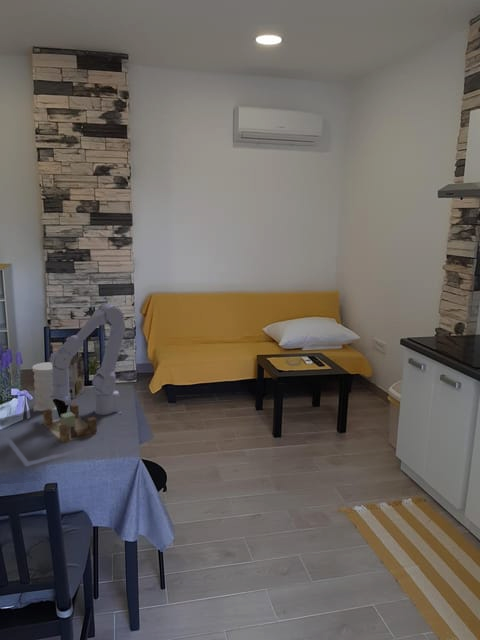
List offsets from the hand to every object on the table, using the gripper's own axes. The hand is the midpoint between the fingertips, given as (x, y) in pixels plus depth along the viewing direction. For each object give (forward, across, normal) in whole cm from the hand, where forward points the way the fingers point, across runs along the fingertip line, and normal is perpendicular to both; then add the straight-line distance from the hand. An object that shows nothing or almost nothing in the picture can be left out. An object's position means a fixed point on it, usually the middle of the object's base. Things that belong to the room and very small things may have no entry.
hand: (62, 417), depth 189 cm
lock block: (+1, +6, 0) cm, 6 cm away
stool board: (+2, +9, 0) cm, 9 cm away
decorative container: (+2, -17, 0) cm, 17 cm away
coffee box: (+2, -27, +14) cm, 31 cm away
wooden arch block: (+1, +17, +2) cm, 18 cm away
